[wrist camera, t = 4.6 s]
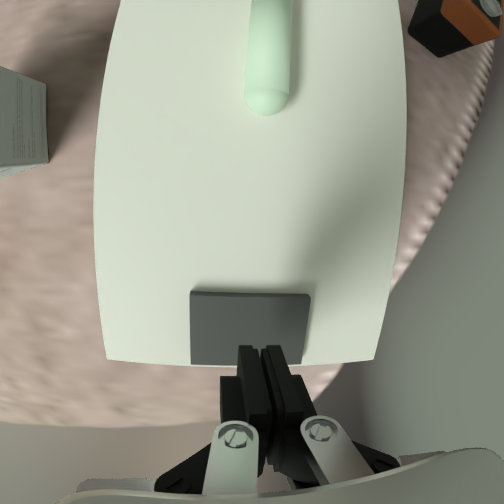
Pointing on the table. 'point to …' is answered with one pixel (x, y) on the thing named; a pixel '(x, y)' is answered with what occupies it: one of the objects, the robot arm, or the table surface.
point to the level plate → (249, 179)
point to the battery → (456, 24)
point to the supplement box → (22, 123)
